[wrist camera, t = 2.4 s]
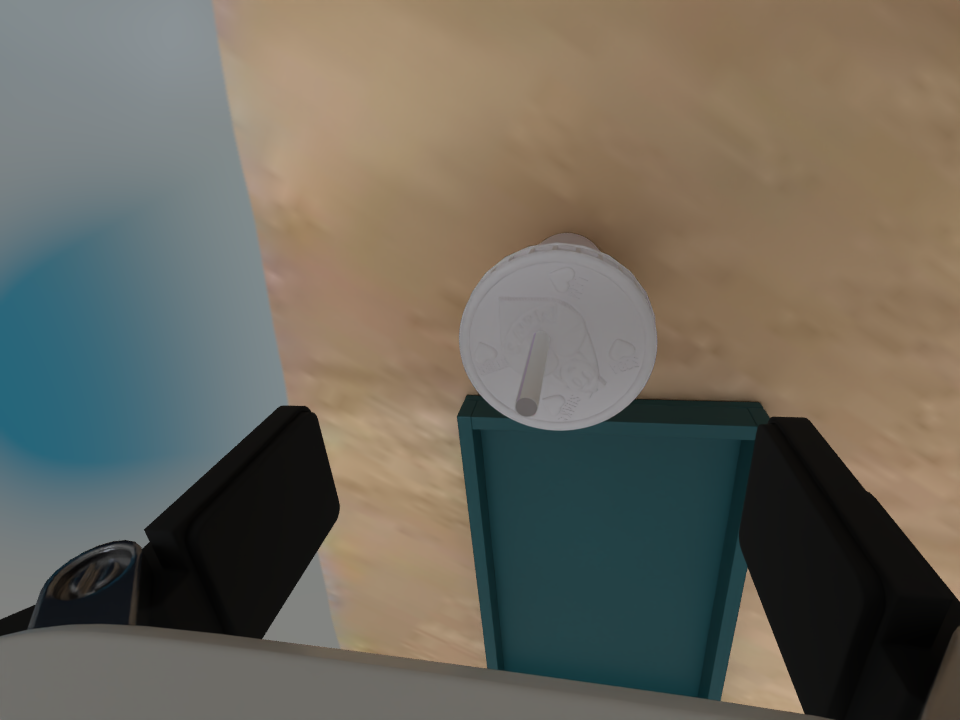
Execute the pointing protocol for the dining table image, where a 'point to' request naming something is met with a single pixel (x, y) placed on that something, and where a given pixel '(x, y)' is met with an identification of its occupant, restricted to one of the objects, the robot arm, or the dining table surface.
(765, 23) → the dining table surface
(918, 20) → the dining table surface
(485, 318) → the smoothie
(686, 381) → the dining table surface
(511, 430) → the tray
